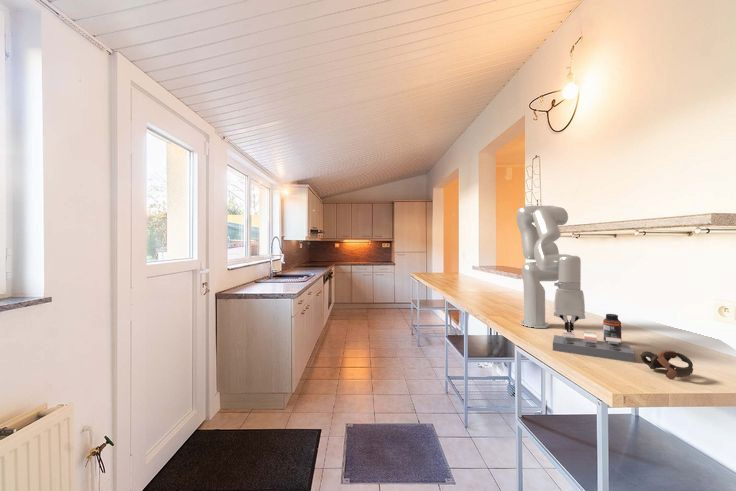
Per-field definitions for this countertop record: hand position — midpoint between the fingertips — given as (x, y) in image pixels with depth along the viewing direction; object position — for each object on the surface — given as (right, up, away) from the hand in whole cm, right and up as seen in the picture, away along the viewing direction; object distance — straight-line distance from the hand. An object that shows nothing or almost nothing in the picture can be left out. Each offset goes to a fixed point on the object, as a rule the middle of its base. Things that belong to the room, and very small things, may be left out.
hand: (569, 332), depth 129 cm
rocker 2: (+10, -2, -10) cm, 14 cm away
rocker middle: (+4, -2, -6) cm, 7 cm away
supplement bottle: (+20, -5, +4) cm, 21 cm away
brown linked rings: (+11, -5, -30) cm, 32 cm away
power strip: (+3, -5, -8) cm, 10 cm away
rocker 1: (-2, -2, -3) cm, 4 cm away
